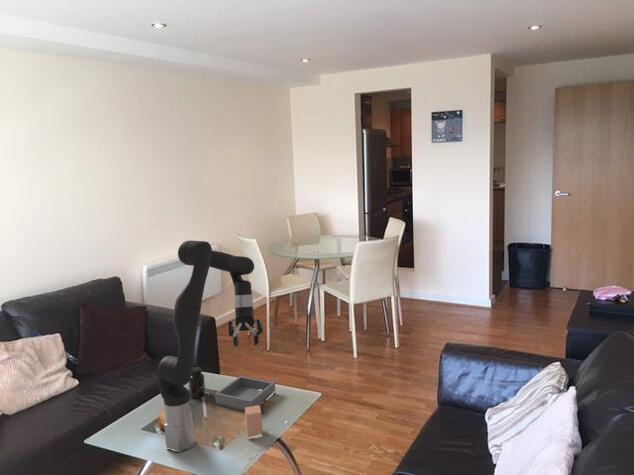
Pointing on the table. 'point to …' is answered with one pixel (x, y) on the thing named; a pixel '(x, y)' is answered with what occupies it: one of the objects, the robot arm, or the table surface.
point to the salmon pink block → (253, 420)
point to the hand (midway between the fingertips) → (246, 345)
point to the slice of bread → (162, 419)
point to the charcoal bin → (244, 393)
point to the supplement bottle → (197, 383)
